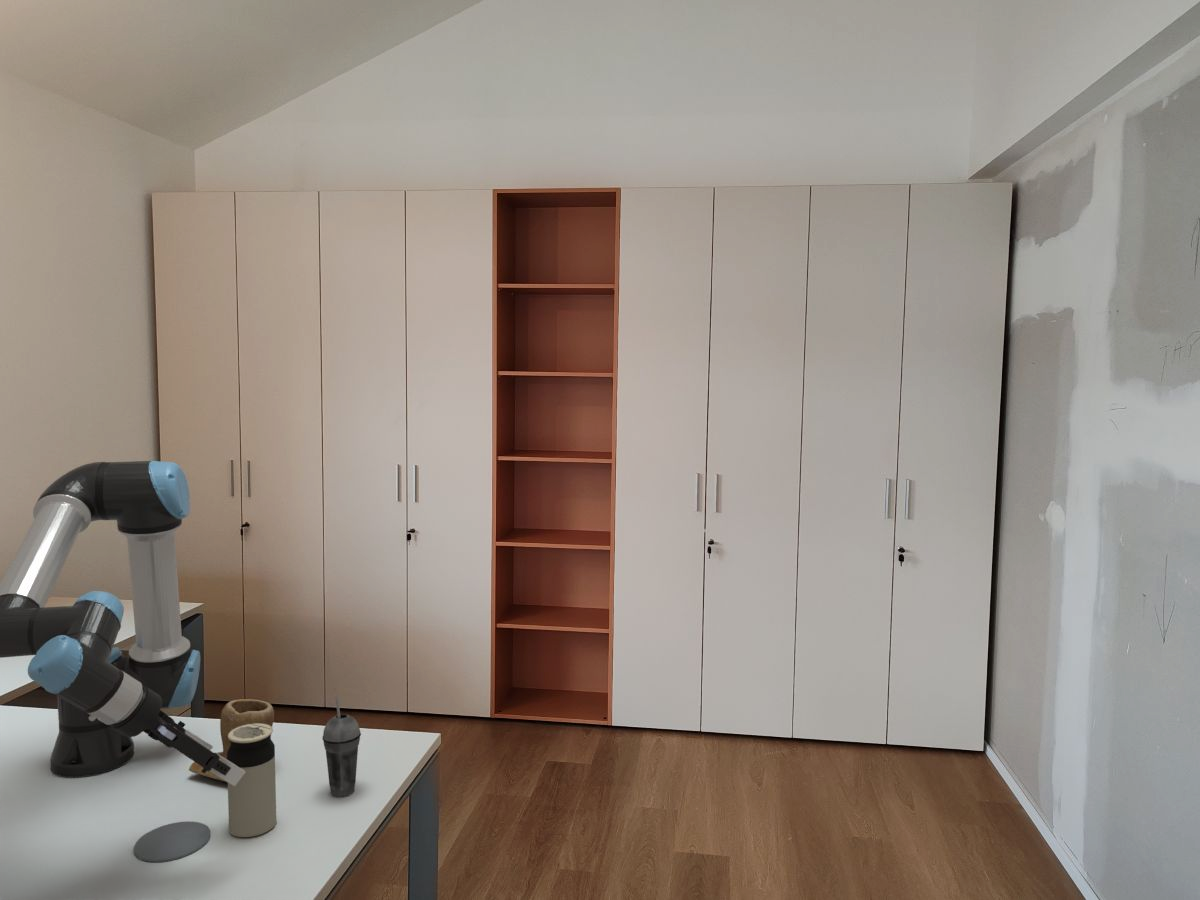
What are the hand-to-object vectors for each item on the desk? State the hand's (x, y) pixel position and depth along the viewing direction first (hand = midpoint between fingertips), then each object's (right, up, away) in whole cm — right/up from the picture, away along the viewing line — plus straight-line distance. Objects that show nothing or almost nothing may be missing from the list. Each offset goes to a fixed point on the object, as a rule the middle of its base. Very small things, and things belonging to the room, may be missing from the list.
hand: (222, 765), depth 146 cm
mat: (-9, -14, +1) cm, 16 cm away
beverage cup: (+15, -13, +19) cm, 27 cm away
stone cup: (-8, -12, +26) cm, 30 cm away
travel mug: (+3, -14, +6) cm, 15 cm away
